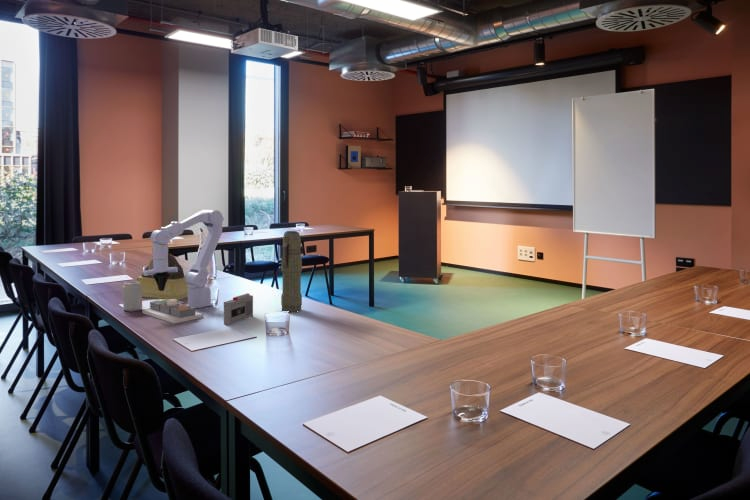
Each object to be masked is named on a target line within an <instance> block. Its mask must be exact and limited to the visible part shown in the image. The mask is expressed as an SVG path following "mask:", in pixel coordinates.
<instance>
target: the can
mask: <svg viewBox="0 0 750 500" xmlns="http://www.w3.org/2000/svg"><path fill="white" fill-rule="evenodd" d="M122 303H123V305H122V307H123V309H124V310H125V311H127V312H137V311H140V310H141V309H142V308H143V297H142V285H141V284H140V282H137V280H135V281H125V282H124V283H123V285H122Z"/></svg>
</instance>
